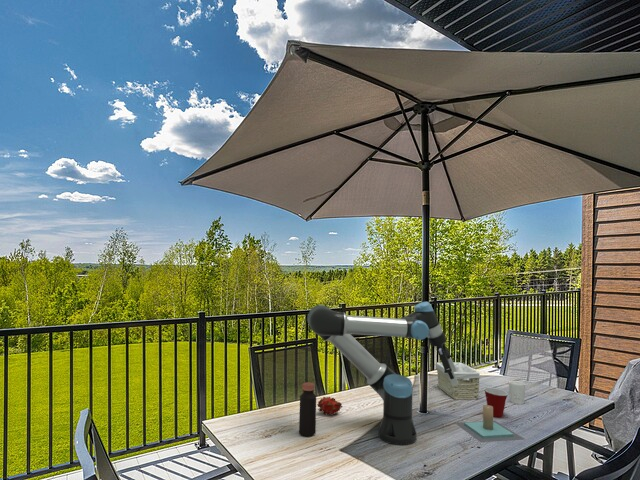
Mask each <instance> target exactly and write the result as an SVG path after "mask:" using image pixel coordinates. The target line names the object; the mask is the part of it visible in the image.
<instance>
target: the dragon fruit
mask: <svg viewBox="0 0 640 480" xmlns="http://www.w3.org/2000/svg"><path fill="white" fill-rule="evenodd" d="M317 402H318V403H316V406H317V407H318V409H317V410H318V411H319V412H323V415H326V416H329V415H332V416H336V415H338V412H339V411H341V410H340V409H342V408H343V404H342V403H341V402H339V401H337V400H336V398H334V397H331V396H327V397H325V396H323V397H322V398H320V400H318V401H317Z"/></svg>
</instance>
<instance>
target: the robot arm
mask: <svg viewBox="0 0 640 480" xmlns="http://www.w3.org/2000/svg"><path fill="white" fill-rule="evenodd" d="M413 308H414V311H412V312H411V313H409V314H407V315H404V316H403V317H401V318H393V317H392V318H391V317H378V316H365V315H364V316H363V315H351V314H350V315H348V314H347V313H346V312H344V311H343V312H341V311H335V310H332V309H330V307H328V306H326V305H324V304H318V305H316V306H314V307H312V308H311V309H310V310H309V312H308V313H307V317H306V319H307V324H308V326H309V327H310V329H311V330H312V332H313V333H314V334H315V335H318V337H320V338H321V339H322V340H323V341H324V342H330V343H331V344H332V345H333V346H334V347H335V348H336V349H337V350H338V352H339V353H341V354H342V355H343V356H344V357H345V358H346V359H347V360H348V361H349V363H351V364H352V365H353V366H354V367H356V369H357V370H358V371H359V372H360V373H361V374H363V376H364V377H365V378H366V382H367V385H368V386H370V387H371V388H372V389H373V391H375V392H376V393H377V394H378V395H379V397H380V398H381V400H382V401H383V407H382V408H383V409H382V411H383V412H382V413H383V415H382V419H381V423H380V425H379V428H378V437H379V438H380V439H381V440H382V441H384V442H385V443H389V444H392V445H398V446H403V445H404V446H405V445H410V444H414V443H415V442H417V435H418V434H417V430H416V427H415V424H414V420H413V392H414V388H413V383H412V382H413V381H412V380H411V379H410V378H409V377H407V376H405V375H401V374H396V372H394V371H393V370H392V369H391V368H390V367H389V366H388V365H387V364H386V363H380V362H379V361H378V360H377V359H376V358H375V357H374V356H373V355H372V354H371V353H370V352H369V351H368V350H367V349H366V348H365V347H364V346H363V345H362V344H361V343H360V342H359V341H358V340H356V338H355V337H354V336H353V335H362V336H363V335H364V336H377V337H378V336H381V337H396V338H406V339H410V338H411V339H415V340H419V341H421V340H424V339H426V338H427V339H428V342H429V345H430V346H431V347H436V352H437V353H438V354H437V355H438V356H439V359H440V361H441V362H442V364H443V367H444V369H445V371H444V373H447V375H448V377H449V379H450V382H451V384H452V386H454V385H458V381H457V379H456V377H455V375H454V373H453V372H456V371H457V370H456V367H455V365H454V363H453V362H454V360H453V359H452V357H453V355H452V354H451V353H450V352H449V350H448V348H447V345H446V344H445V343H446V342H447V337H446V335H445V332H443V329H442V327H443V326H442V325H441V324H440V323H439V321H438V317H437V316H436V315H437V314H436V313H435V311H434V309H433V307H432V304H431V303H430V302H429V301H423V302H420V303H418V304H416V305H414V307H413Z"/></svg>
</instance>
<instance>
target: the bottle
mask: <svg viewBox="0 0 640 480" xmlns="http://www.w3.org/2000/svg"><path fill="white" fill-rule="evenodd" d="M314 391H315V383H314V382H309V381H308V382H303V383H302V393H301V394H300V395H299V422H298V423H299V425H298V432H299V433H298V435H300V436H301V437H304V438H310V437H314V436H316V432H317V430H316V427H317V395H316V394H315V392H314Z"/></svg>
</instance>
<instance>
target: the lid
mask: <svg viewBox="0 0 640 480" xmlns="http://www.w3.org/2000/svg"><path fill="white" fill-rule="evenodd" d="M482 421H483V422H479V421H468V422H469V423H464V425H465V426H466V427H468V428H469V429H471V430H472V431H473V432H475V433H476V434H478V435H479V436H480V437H482V438H499V437H514V434H513V433H511V432H510V431H508V430H506V429H505V428H503V427H501V426H500V425H498V424H497V423H495V422H493V421H494V417H493V407H492V406H490V405H487V404H483V405H482Z"/></svg>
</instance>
